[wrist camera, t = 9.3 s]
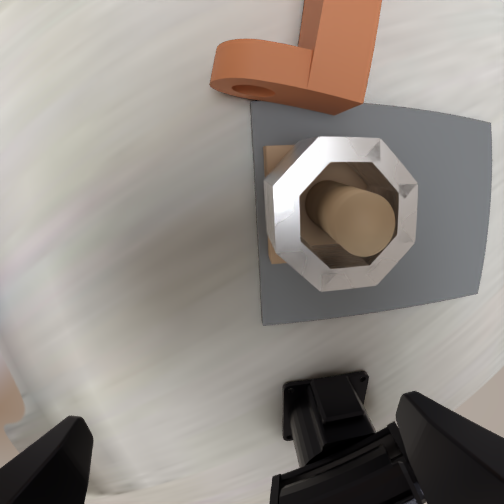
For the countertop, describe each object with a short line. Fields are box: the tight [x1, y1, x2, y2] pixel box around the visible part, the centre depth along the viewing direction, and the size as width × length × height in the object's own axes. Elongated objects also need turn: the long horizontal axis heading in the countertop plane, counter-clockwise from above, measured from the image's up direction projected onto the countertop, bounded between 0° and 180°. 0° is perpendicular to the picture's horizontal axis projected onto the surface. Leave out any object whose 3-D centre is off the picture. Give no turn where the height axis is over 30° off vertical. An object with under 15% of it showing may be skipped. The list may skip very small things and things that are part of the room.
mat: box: [250, 101, 492, 326], centre depth 18 cm, size 13×17×1 cm
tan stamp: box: [263, 145, 395, 264], centre depth 14 cm, size 6×6×6 cm
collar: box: [264, 137, 418, 292], centre depth 14 cm, size 6×6×4 cm
